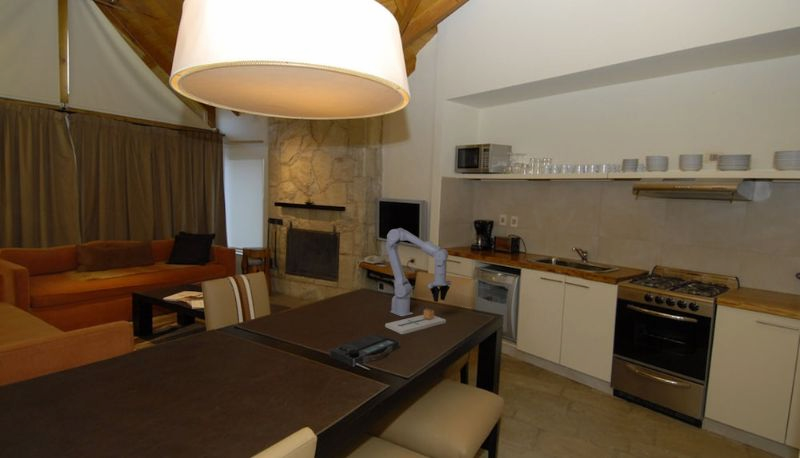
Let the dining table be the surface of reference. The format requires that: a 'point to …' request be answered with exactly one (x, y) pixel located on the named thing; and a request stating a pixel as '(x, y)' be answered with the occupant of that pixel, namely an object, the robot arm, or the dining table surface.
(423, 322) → the fader console
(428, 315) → the fader tab
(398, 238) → the robot arm
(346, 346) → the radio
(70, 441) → the dining table surface
